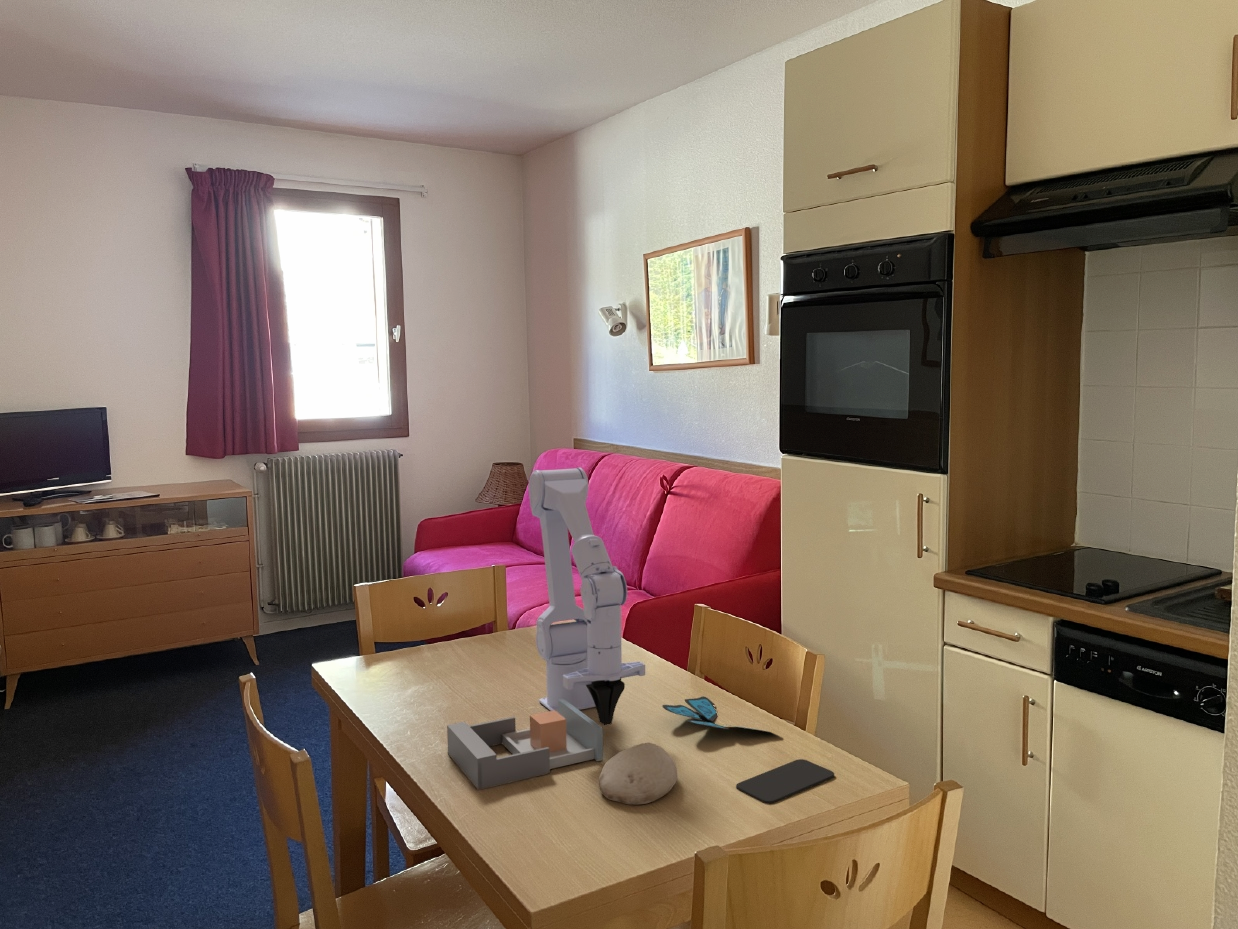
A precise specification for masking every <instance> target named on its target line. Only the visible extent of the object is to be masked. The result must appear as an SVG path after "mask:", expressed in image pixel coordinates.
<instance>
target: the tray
mask: <svg viewBox="0 0 1238 929" xmlns="http://www.w3.org/2000/svg"><path fill="white" fill-rule="evenodd" d="M558 707H559V714H560V715H562V716H563V717H564V718H565V719H566V739H567V749H564V750H560V751H555V752H550V753H549V754H550V770H551V769H556V768H560V767H564V766H565V767H566V766H568V765H569V766H570V765H574V764H579V763H582V762H587V761H590V760H591V761H592V760H595V761H597V762H600V761H603V760H604V743H603V742H604V741H603V740H604V737H603V734H604V733H603V732H604V731H603V730H604V729H603V727H602V726H601V725H600V724H598V723H597V722H596V721H594V720H593V719H592V718H591V717H589V716H587V715H586V714H585V713H584V712H582V711H581V710H578V709H577V708H576V707H574V706H573V705H572V704H570V703H569V702H568V701H566V700H565V699H559V700H558ZM501 745H503V747H504V748H506V749H507V750H508V751H509V752H510V753H511V755H513V754H518V753H522V752H527V751H532V750H536V749H535V748H534V747H532V746H531V745H530V728H525V729H522V730H517V731H516V732H511V733H506V734H502V744H501Z"/></svg>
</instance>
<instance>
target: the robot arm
mask: <svg viewBox="0 0 1238 929" xmlns="http://www.w3.org/2000/svg"><path fill="white" fill-rule="evenodd" d="M588 493H589V479H588V475H587V473H586V472H585V470H584V469H583V468H582V467H576V468H564V469H563V468H562V469H545V470H539V469H536V470H533V471H532V473H531V474H530V476H529V482H528V496H529V505H530V510H531V515H532V516H533V517H536V518H538V519H539V522H540V523H539V524H540V529H541V537H542V547H543V555H544V565H545V566H544V567H545V574H546V575H545V576H546V584H547V593H548V594H547V595H548V603H549V606H548V607H547V609H545V610H544V611H543V612H542V613H541V614H540V615H539V616H538V618H537V619H536V633H535V644H536V649H537V653H538V655H539V656H540V658H542V660H544V661H545V665H546V666H545V667H546V668H545V669H546V670H545V673H546V697H542V698H539V699H538V702H539V703H540V704H542V705H543V706H544V707H545V708H547V709H548V710H549V711H554V710H555V711H556V712H558V713H559V707H558V700H559V699H565V700H566V701H568V702H569V703H570V704H572V705H573V706H574V707H576V708H577V709H578V710H580V711H581V710H585V709H586V710H587V709H591V708H596V709H595V710H596V712H597V716H598V722H599V723H600V724H602V725H603V726H608V725H612V724H613V723H612V722H613V719H614V714H615V711H616V707H617V704H618V702H619V700H620V697H621V696H622V694H623V693H624V690H625V686H626V684H625V682H624V681H622V679H625V678H631V677H635V676H639V677H644V676H646V664H645V663H643V662H642V661H632V662H623V660H622V659H623V658H622V655H623V654H622V652H623V650H622V606H624V605H625V604H626V602H627V599H628V585H627V580H626V578H625V575H624V573H623V572H622V571H620V570H619V569H618V567H617V566H616V565H613V564H612V561H611V559H610V556H609V554H608V550H607V548H606V546H605V543H604V540H603V539H602V538H601V537H600V536H597V535H595V534H594V531H593V528H592V522H591V520H590V516H589V512H588V509H587V506H586V502H587V500H588ZM569 533H570V535H571V538H572V540H573V541H574V543H573V545H572V546H570V540H569V539H570V538H569ZM570 547H571V549H570ZM571 555H572V556H571ZM572 557H573V560H574V564H575V566H576V568H577V571H578V574H579V576H580V581H581V585H580V591H579V592H580V597H581V602H582V606H583V608H582V607H581V606H579V605H577V604H576V595H575V594H576V593H575V585H574V577H573V575H574V574H573V569H572V568H573V566H572V565H573V564H572ZM570 620H571V622H562V621H570ZM572 620H574V621H572ZM557 622H561V623H557ZM553 623H554V624H553Z"/></svg>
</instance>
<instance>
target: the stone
mask: <svg viewBox="0 0 1238 929" xmlns="http://www.w3.org/2000/svg"><path fill="white" fill-rule="evenodd" d="M598 777H599V778H598V788H599V791H600V792H601V794H602V795H603V796H604V797H605V798H607V799H608V800H610V801H613V802H617V803H618V802H619V803H622V804H624V805H625V804H626V805H634V806H636V805H637V806H638V805H639V806H640V805H646V804H649V803H651V802H655V801H657V800H659V799H661V797H664V796H665V795H666V794H668V793H669V792H670V791H671V790H672V788H673V787H674V785H675V784H676V783H677V780H678V768H677V765H676V762H675V760H674V759H673V758H672V756H671V755H670V754H669V753H668V752H667V750H666V749H665V748H663V747H662V746H660V745H658V744H656V743H653V742H642V743H640V744H636V745H633V746H631V747H628V748H626V749H622V750H621V751H619V752H617V753H616V754H615V755H614V756H612V757H611V758H610V759H608V760H607V761H606V762H605V763H604V765H603V767H602V769H601V772H600V774H599V776H598Z"/></svg>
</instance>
